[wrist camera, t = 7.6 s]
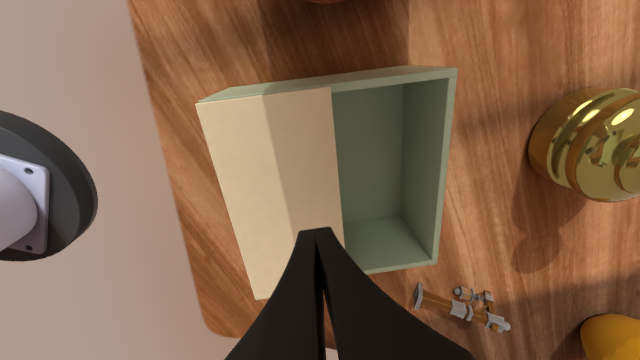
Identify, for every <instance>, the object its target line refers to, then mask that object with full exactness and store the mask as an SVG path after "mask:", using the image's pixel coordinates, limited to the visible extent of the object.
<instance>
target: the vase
mask: <svg viewBox="0 0 640 360" xmlns="http://www.w3.org/2000/svg"><path fill="white" fill-rule="evenodd" d="M306 1H310V2H313V3H321V4H332V3H338V2H343V1H346V0H306Z"/></svg>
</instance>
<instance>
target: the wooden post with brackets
mask: <svg viewBox="0 0 640 360" xmlns="http://www.w3.org/2000/svg"><path fill="white" fill-rule="evenodd" d="M454 293H455V294H457V295H459V299H466V300H469V301H470V303H472V301H473V300H474V299H475V300H477V301H478V300H481V301H483V302H484V305H485V306H484V307H483V308H481V309H480V310H479V311H478V310H476V309H473V308H472V306H470V305H468V306H465V303H460V302H457V301H455V300H453V299H452V300H451V301H450V300H447V299H444V298H442V297H440V296H437V295H435V294H433V293H430V292H428V291H426V290H424V289H423V287H422V284H420V283H418V286H417V289H416V292H415V295H414V309H417V310H418V309H419V307H420V306H425V307H431V308H436V309H441V310H445V311H448V312H450V314H453V315H456V316H458V317H461V318H462V319H463V318H464V317H465V318H466V320H468V321H470V319H471V320H474V321H476V322H479V323H482V324H484V325H485V327H487V328H490V330H491V331H494V332H497V331H498V332H500V333H502V331H503V330H506V331H508V330H510V325H509V323H507V322H504V319H503V317H499V316H497V315H496V312H495V308H494V304H493V303H494V300H493V297H492V296H491V293H490V291H486V290H484V292H483V294H482V295H483V297H480V296H479V294H477V296H476V294H474V291H473V288H471V290H469V289H466V288H464V287H462V286H461V287H460V289H459V288H455V289H454ZM482 298H483V300H482ZM484 310H487V314H486V313H483V311H484Z"/></svg>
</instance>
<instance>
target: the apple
mask: <svg viewBox="0 0 640 360" xmlns="http://www.w3.org/2000/svg"><path fill="white" fill-rule="evenodd" d="M580 336H581V340H582V344H583V347H584V350H585V353H586V356H587V358H588V360H640V320H636V319H633V318H630V317H627V316H623V315H617V314H611V313H610V314H603V315H599V316H595V317H591V318H589V319H588V320H586V321H585V322H584V323H583V325H582V327H581V328H580Z"/></svg>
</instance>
